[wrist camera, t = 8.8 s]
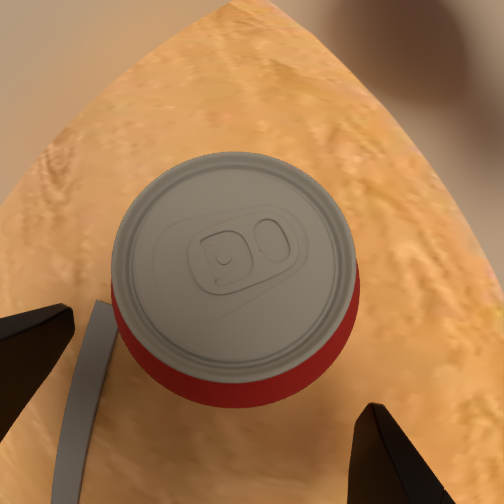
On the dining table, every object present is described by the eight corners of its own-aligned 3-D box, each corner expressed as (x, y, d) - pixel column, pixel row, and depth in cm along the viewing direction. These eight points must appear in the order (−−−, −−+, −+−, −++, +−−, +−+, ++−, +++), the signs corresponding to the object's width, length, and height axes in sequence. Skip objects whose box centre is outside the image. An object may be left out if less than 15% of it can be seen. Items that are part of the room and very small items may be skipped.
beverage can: (165, 297, 18) (68, 183, 7) (270, 258, 19) (302, 107, 8) (205, 405, 16) (135, 458, 5) (315, 360, 17) (433, 330, 6)
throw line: (74, 547, 11) (72, 548, 11) (51, 533, 11) (49, 534, 11) (124, 310, 18) (123, 309, 17) (98, 300, 18) (96, 299, 18)
